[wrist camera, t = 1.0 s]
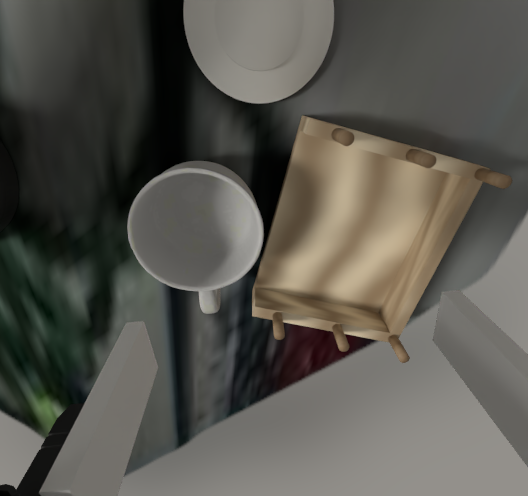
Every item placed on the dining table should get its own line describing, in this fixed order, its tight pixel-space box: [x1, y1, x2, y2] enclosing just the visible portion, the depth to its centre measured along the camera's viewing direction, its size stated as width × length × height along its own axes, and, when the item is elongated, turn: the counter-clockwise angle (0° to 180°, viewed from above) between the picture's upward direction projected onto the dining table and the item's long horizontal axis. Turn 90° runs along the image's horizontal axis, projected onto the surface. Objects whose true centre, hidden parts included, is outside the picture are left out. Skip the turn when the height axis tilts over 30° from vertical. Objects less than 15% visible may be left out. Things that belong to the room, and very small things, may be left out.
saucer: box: [183, 0, 334, 104], centre depth 26 cm, size 12×12×2 cm
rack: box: [252, 115, 512, 363], centre depth 31 cm, size 16×19×8 cm
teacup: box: [127, 161, 264, 314], centre depth 30 cm, size 14×11×8 cm
